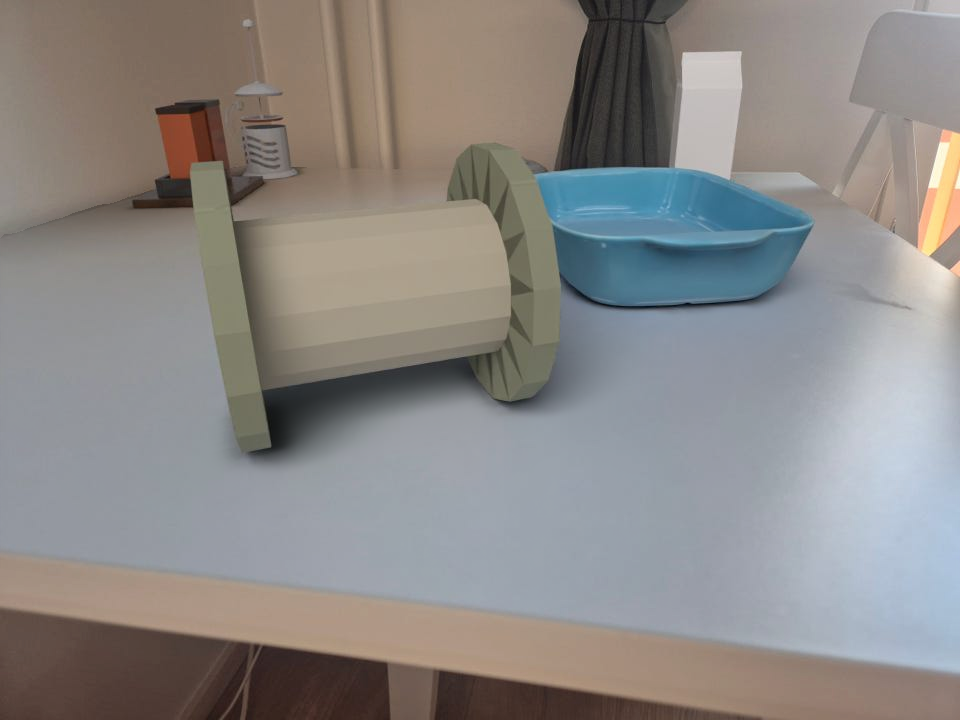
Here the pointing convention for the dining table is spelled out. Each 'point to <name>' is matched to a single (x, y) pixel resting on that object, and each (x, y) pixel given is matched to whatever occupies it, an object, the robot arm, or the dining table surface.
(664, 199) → the casserole dish
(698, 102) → the milk carton
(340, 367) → the spool
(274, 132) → the french press
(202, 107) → the loose pad
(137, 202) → the pad dock
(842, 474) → the dining table surface
